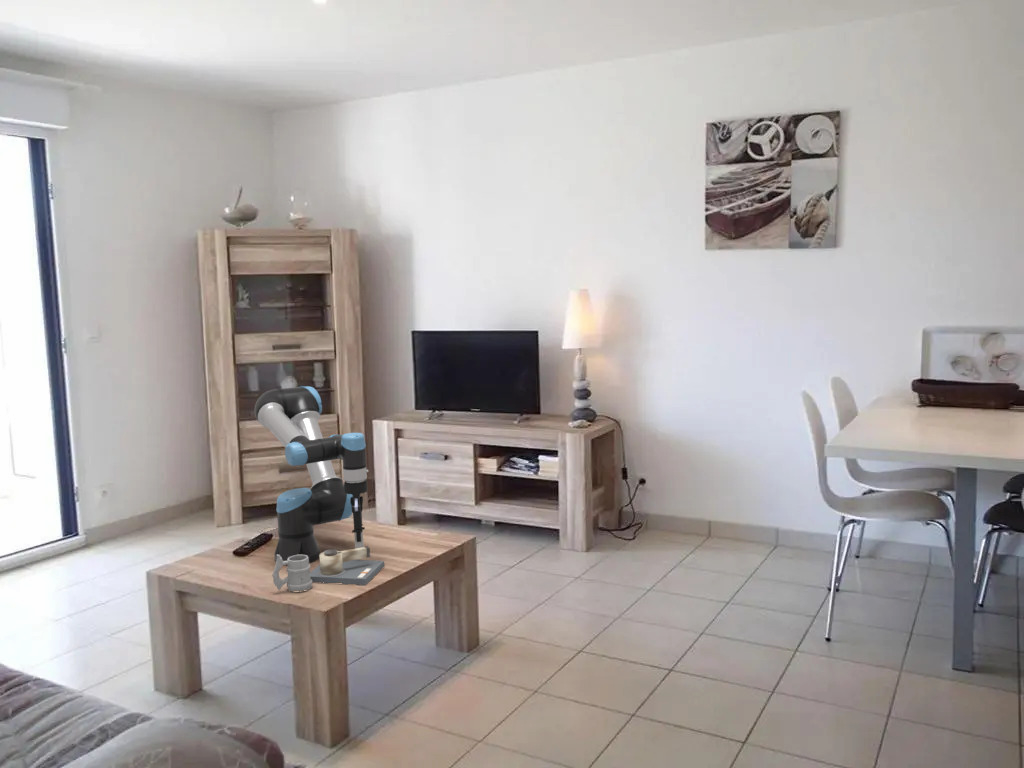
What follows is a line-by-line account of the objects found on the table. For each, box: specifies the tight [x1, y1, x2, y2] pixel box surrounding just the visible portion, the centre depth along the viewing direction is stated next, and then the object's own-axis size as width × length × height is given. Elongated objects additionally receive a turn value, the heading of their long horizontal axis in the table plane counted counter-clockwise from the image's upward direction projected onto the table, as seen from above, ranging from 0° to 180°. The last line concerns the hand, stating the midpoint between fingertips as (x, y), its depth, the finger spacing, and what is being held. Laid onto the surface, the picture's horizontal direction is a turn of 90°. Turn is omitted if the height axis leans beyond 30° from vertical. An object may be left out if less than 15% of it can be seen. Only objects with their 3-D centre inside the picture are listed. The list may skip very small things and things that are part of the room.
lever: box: [319, 545, 371, 575], centre depth 271 cm, size 16×7×7 cm, turn 118°
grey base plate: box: [310, 559, 385, 586], centre depth 273 cm, size 20×17×2 cm
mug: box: [272, 554, 313, 593], centre depth 260 cm, size 8×12×12 cm, turn 119°
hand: (359, 550), depth 280 cm, fingers closed
